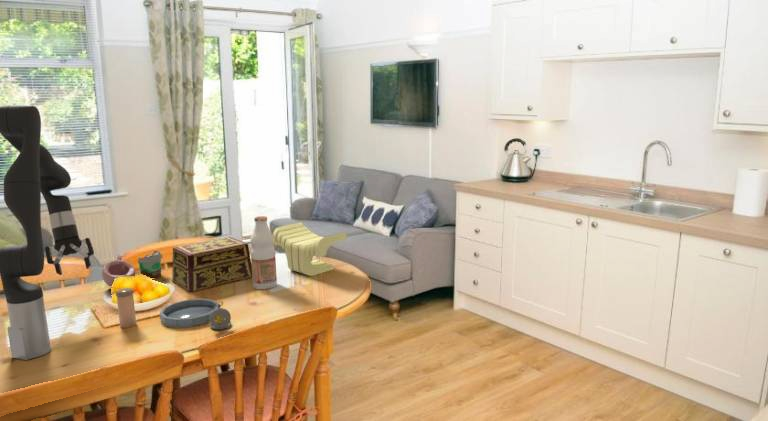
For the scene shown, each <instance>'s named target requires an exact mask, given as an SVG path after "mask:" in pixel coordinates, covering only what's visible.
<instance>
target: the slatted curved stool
mask: <svg viewBox="0 0 768 421" xmlns="http://www.w3.org/2000/svg"><path fill="white" fill-rule="evenodd" d="M272 234H273V236H274V243H273V246H278V247H281V248H282V250H284V252H285V257H286V260H287V262H286V263H287V268H288V269H289V270H290V271H294V272H298V273H299V274H304V275H306V276H310V277H312V276H315V275H319V274H322V273H326V272H329V271H331V270H332V271H333V270H335V267H334V265H333V263H329V262H326V261H322V260H321V261H320V260H319V259H314V260H313V258H314V256H315V257H317V258H321V257H324V256H327V252H328V250H329V248H330V247H331V246H333V244H335V243H337V242H340V241H344V240H346V239H347V232H346V231H344V232H341V233H337V234H334V235H329V236H326V237H324V236H320V235H318V234H316V233H315V232H313V231H311V230H310V229H309V228H308V227H307V226H305V225H304V223H302V221H300V222H296V223H291V224H286V225H282V226H278V227H276V228H275V229H274V231H273V233H272Z"/></svg>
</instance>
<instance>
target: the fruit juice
mask: <svg viewBox="0 0 768 421" xmlns="http://www.w3.org/2000/svg"><path fill="white" fill-rule="evenodd" d="M253 220H254V228H253V231H252V233H251V235H250V244H251V251H250V259H251V264H252V278H251V279H252V286H253V288H255V289H257V290H267V289H272V288H275V287H277V284H278V279H277V263H276V262H277V260H276V250H275V248H274V247H275V246H274V245H273V243H274V236H273V233H272V231H271V230H270V228H269V225H268V223H267V222H268V216H265V215H262V216H261V215H260V216H255V217H254V219H253Z"/></svg>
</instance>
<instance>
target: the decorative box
mask: <svg viewBox="0 0 768 421" xmlns="http://www.w3.org/2000/svg"><path fill="white" fill-rule="evenodd" d="M248 279H253V278H252V263H251V252H250V248H249V244H248V243H247V242H245V241H242V240H240V239H237V238H234V237H232V236H226V237H221V238H215V239H210V240H204V241H199V242H194V243H189V244H182V245H178V246H174V247H172V283H173V284H175V285H177V286H178V287H180V289H183V290H184V291H186V292H188V293H189V294H191V293H195V292H200V291H205V290H209V289H212V288H216V287H220V286H221V287H222V286H225V285H229V284H233V283H237V282H241V281H245V280H248Z"/></svg>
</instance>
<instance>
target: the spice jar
mask: <svg viewBox="0 0 768 421" xmlns="http://www.w3.org/2000/svg"><path fill="white" fill-rule="evenodd" d="M115 297H116V304H117V312H118V320H119V327H120V328H121V329H129V328H132V327H135V326H136V325H137V318H136V317H137V316H136V310H135V309H136V308H135V307H136V306H135V300H134V299H135V298H134V289H133V288H130V287H124V288H119V289H117V290H116V291H115Z"/></svg>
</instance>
